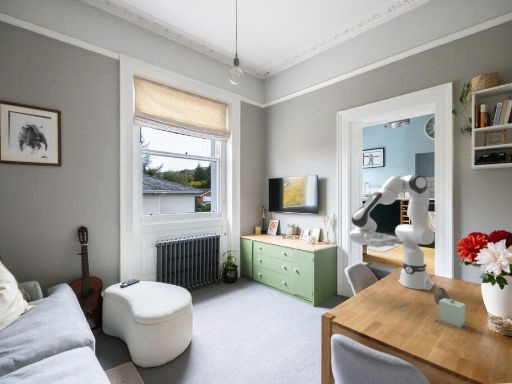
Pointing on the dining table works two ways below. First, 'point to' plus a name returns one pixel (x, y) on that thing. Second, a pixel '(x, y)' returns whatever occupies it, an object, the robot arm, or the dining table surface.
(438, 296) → the brown rounded lump
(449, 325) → the board
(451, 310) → the mint green lunchbox
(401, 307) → the mat
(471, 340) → the dining table surface
